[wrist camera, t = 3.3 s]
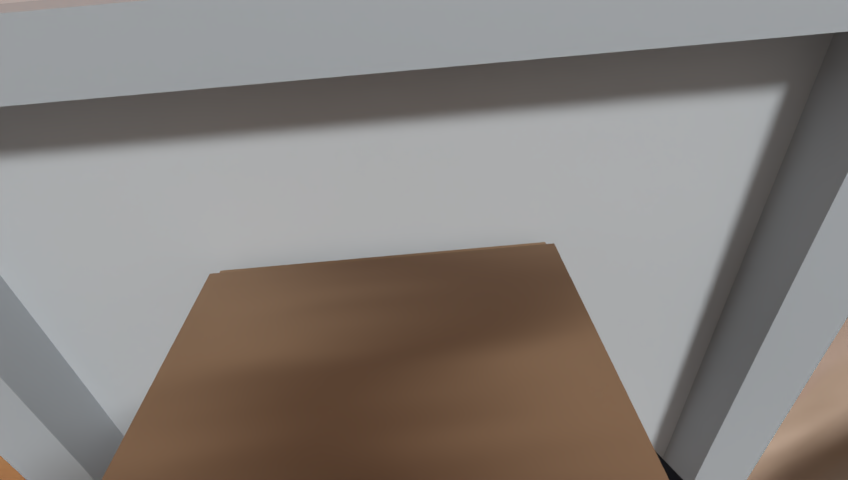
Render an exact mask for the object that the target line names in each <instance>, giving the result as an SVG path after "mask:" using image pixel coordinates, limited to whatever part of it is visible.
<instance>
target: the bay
mask: <svg viewBox="0 0 848 480" xmlns="http://www.w3.org/2000/svg"><path fill="white" fill-rule="evenodd" d="M539 242H545V243H546V244H552V243H554V244H555V246H556V248H557V250H558V252H559V254H560V256H561V259H562V261H563V263H564V265H565V267H566V269H567V271H568V273H569V275H570V277H571V279H572V281H573V283H574V285H575V287H576V289H577V291H578V293H579V296H580V298H581V300H582V302H583V304H584V306H585V308H586V310H587V312H588V314H589V316H590V318H591V320H592V322H593V324H594V326H595V328H596V330H597V333H598V335H599V337H600V339H601V341H602V343H603V345H604V347H605V349H606V351H607V353H608V355H609V357H610V359H611V361H612V363H613V365H614V367H615V370H616V372H617V374H618V376H619V378H620V380H621V382H622V384H623V386H624V388H625V390H626V392H627V394H628V396H629V398H630V400H631V402H632V404H633V407H634V409H635V411H636V413H637V415H638V417H639V419H640V421H641V423H642V425H643V427H644V429H645V431H646V433H647V435H648V437H649V439H650V441H651V444H652V446H653V448H654V450H655V451H656V452H657V453H658V454H659V455H660V456H661V457H662V458H663V459H664V460H665V461H666V462H667V463H668V464H669V465H670V466H671V467H672V469H673V470H674V471H675V472H676V473H677V474H678V475H679V476H680V477H681V478H682V479H683V480H747V478H748V477H749V475H750V473H751V472H752V470H753V469H754V467H755V465H756V464H757V462H758V461H759V459H760V457H761V456H762V454H763V453H764V451H765V449H766V448H767V446H768V444H769V443H770V441H771V440H772V438H773V436H774V435H775V433H776V432H777V430H778V428H779V427H780V425H781V424H782V422H783V420H784V419H785V417H786V415H787V414H788V412H789V411H790V409H791V407H792V406H793V404H794V403H795V401H796V399H797V398H798V396H799V394H800V393H801V391H802V390H803V388H804V386H805V385H806V383H807V382H808V380H809V378H810V377H811V375H812V374H813V372H814V370H815V369H816V367H817V365H818V364H819V362H820V361H821V359H822V357H823V356H824V354H825V353H826V351H827V349H828V348H829V346H830V345H831V343H832V341H833V340H834V338H835V336H836V335H837V333H838V332H839V330H840V328H841V327H842V325H843V324H844V322H845V320H846V319H847V317H848V0H0V455H1V456H2V457H3V458H4V459H5V460H6V461H7V462H8V463H9V464H10V465H11V466H12V467H13V468H15V469H16V470H17V471H18V472H19V473H20V474H21V475H22V476H23V477H24V478H25V479H26V480H102V478H103V476H104V474H105V472H106V470H107V468H108V466H109V465H110V463H111V461H112V459H113V457H114V455H115V453H116V451H117V449H118V447H119V445H120V444H121V442H122V440H123V438H124V436H125V434H126V432H127V430H128V428H129V426H130V425H131V423H132V421H133V419H134V417H135V415H136V413H137V411H138V409H139V407H140V405H141V404H142V402H143V400H144V398H145V396H146V394H147V392H148V390H149V388H150V386H151V385H152V383H153V381H154V379H155V377H156V375H157V373H158V371H159V369H160V367H161V365H162V364H163V362H164V360H165V358H166V356H167V354H168V352H169V350H170V348H171V346H172V345H173V343H174V341H175V339H176V337H177V335H178V333H179V331H180V329H181V327H182V325H183V324H184V322H185V320H186V318H187V316H188V314H189V312H190V310H191V308H192V306H193V305H194V303H195V301H196V299H197V297H198V295H199V293H200V291H201V289H202V287H203V286H204V284H205V282H206V280H207V278H208V276H209V274H212V273H220V271H222V270H233V269H245V268H256V267H267V266H279V265H290V264H301V263H313V262H324V261H335V260H347V259H358V258H369V257H380V256H392V255H403V254H414V253H426V252H437V251H448V250H460V249H471V248H482V247H494V246H505V245H516V244H528V243H539Z"/></svg>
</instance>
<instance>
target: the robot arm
mask: <svg viewBox="0 0 848 480" xmlns="http://www.w3.org/2000/svg"><path fill="white" fill-rule="evenodd" d="M655 452H656V451H655ZM656 454H657V456H658V458H659V460H660V462H661V464H662V466H663V468H664V470H665V472H666V474H667V476H668V478H669V480H683V479H682V478H681V477H680V476H679V475H678V474H677V473H676V472H675V471H674V470H673V469H672V467H671V466H670V465H669V464H668V463H667V462H666V461H665V460H664V459H663V458H662V457H661V456H660V455H659V454H658V453H657V452H656Z"/></svg>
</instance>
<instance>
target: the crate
mask: <svg viewBox="0 0 848 480" xmlns="http://www.w3.org/2000/svg"><path fill="white" fill-rule="evenodd" d="M102 480H669V478H668V476H667V474H666V472H665V470H664V468H663V466H662V464H661V462H660V460H659V458H658V456H657V454H656V452H655V450H654V448H653V446H652V444H651V441H650V439H649V437H648V435H647V433H646V431H645V429H644V427H643V425H642V423H641V421H640V419H639V417H638V415H637V413H636V411H635V409H634V407H633V404H632V402H631V400H630V398H629V396H628V394H627V392H626V390H625V388H624V386H623V384H622V382H621V380H620V378H619V376H618V374H617V372H616V370H615V367H614V365H613V363H612V361H611V359H610V357H609V355H608V353H607V351H606V349H605V347H604V345H603V343H602V341H601V339H600V337H599V335H598V333H597V330H596V328H595V326H594V324H593V322H592V320H591V318H590V316H589V314H588V312H587V310H586V308H585V306H584V304H583V302H582V300H581V298H580V296H579V293H578V291H577V289H576V287H575V285H574V283H573V281H572V279H571V277H570V275H569V273H568V271H567V269H566V267H565V265H564V263H563V261H562V259H561V256H560V254H559V252H558V250H557V248H556V246H555V244H554V243H552V244H546V243H545V242H539V243H528V244H516V245H505V246H494V247H482V248H471V249H460V250H448V251H437V252H426V253H414V254H403V255H392V256H380V257H369V258H358V259H347V260H335V261H324V262H313V263H301V264H290V265H279V266H267V267H256V268H245V269H233V270H222V271H220V273H212V274H209V276H208V278H207V280H206V282H205V284H204V286H203V287H202V289H201V291H200V293H199V295H198V297H197V299H196V301H195V303H194V305H193V306H192V308H191V310H190V312H189V314H188V316H187V318H186V320H185V322H184V324H183V325H182V327H181V329H180V331H179V333H178V335H177V337H176V339H175V341H174V343H173V345H172V346H171V348H170V350H169V352H168V354H167V356H166V358H165V360H164V362H163V364H162V365H161V367H160V369H159V371H158V373H157V375H156V377H155V379H154V381H153V383H152V385H151V386H150V388H149V390H148V392H147V394H146V396H145V398H144V400H143V402H142V404H141V405H140V407H139V409H138V411H137V413H136V415H135V417H134V419H133V421H132V423H131V425H130V426H129V428H128V430H127V432H126V434H125V436H124V438H123V440H122V442H121V444H120V445H119V447H118V449H117V451H116V453H115V455H114V457H113V459H112V461H111V463H110V465H109V466H108V468H107V470H106V472H105V474H104V476H103V478H102Z"/></svg>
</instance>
